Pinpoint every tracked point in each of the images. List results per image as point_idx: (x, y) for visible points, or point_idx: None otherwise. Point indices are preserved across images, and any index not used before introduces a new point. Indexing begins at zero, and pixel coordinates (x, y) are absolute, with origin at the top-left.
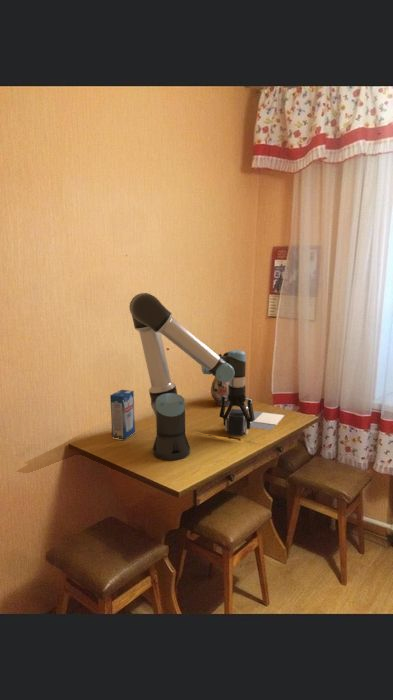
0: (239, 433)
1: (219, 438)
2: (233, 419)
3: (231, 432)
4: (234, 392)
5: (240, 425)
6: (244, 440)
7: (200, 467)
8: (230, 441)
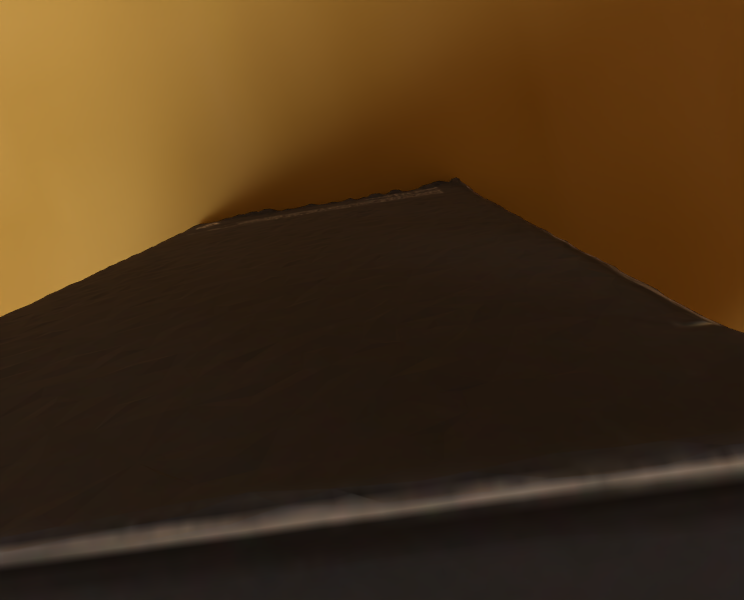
0: (200, 236)
1: (646, 114)
2: (330, 330)
3: (407, 200)
4: None
5: (61, 304)
6: (116, 179)
7: None
8: (374, 17)
